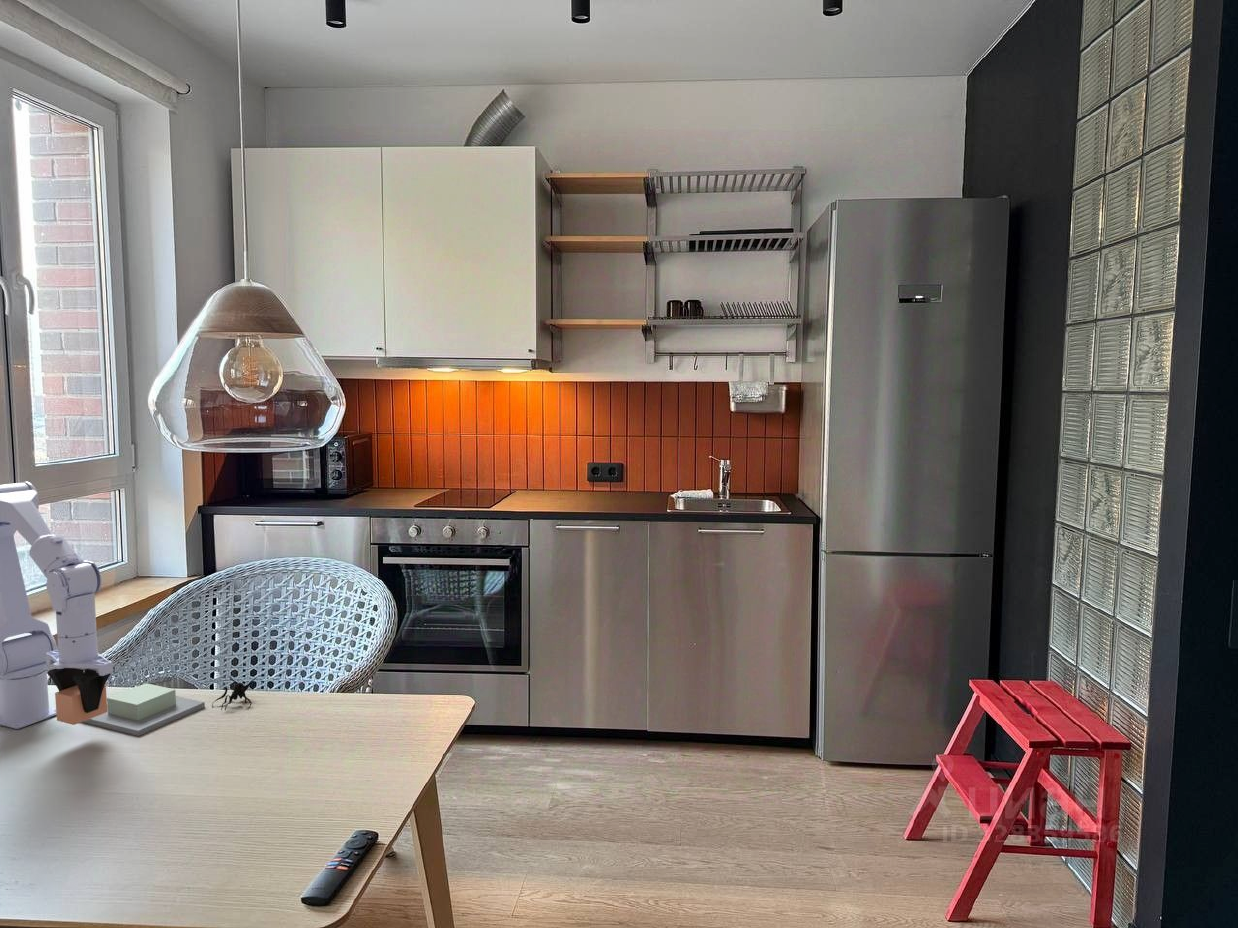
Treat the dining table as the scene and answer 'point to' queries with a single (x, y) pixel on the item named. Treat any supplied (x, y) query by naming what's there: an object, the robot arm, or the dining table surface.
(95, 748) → the dining table surface
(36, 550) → the robot arm
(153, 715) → the tower base
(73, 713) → the top brick
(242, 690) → the creature
